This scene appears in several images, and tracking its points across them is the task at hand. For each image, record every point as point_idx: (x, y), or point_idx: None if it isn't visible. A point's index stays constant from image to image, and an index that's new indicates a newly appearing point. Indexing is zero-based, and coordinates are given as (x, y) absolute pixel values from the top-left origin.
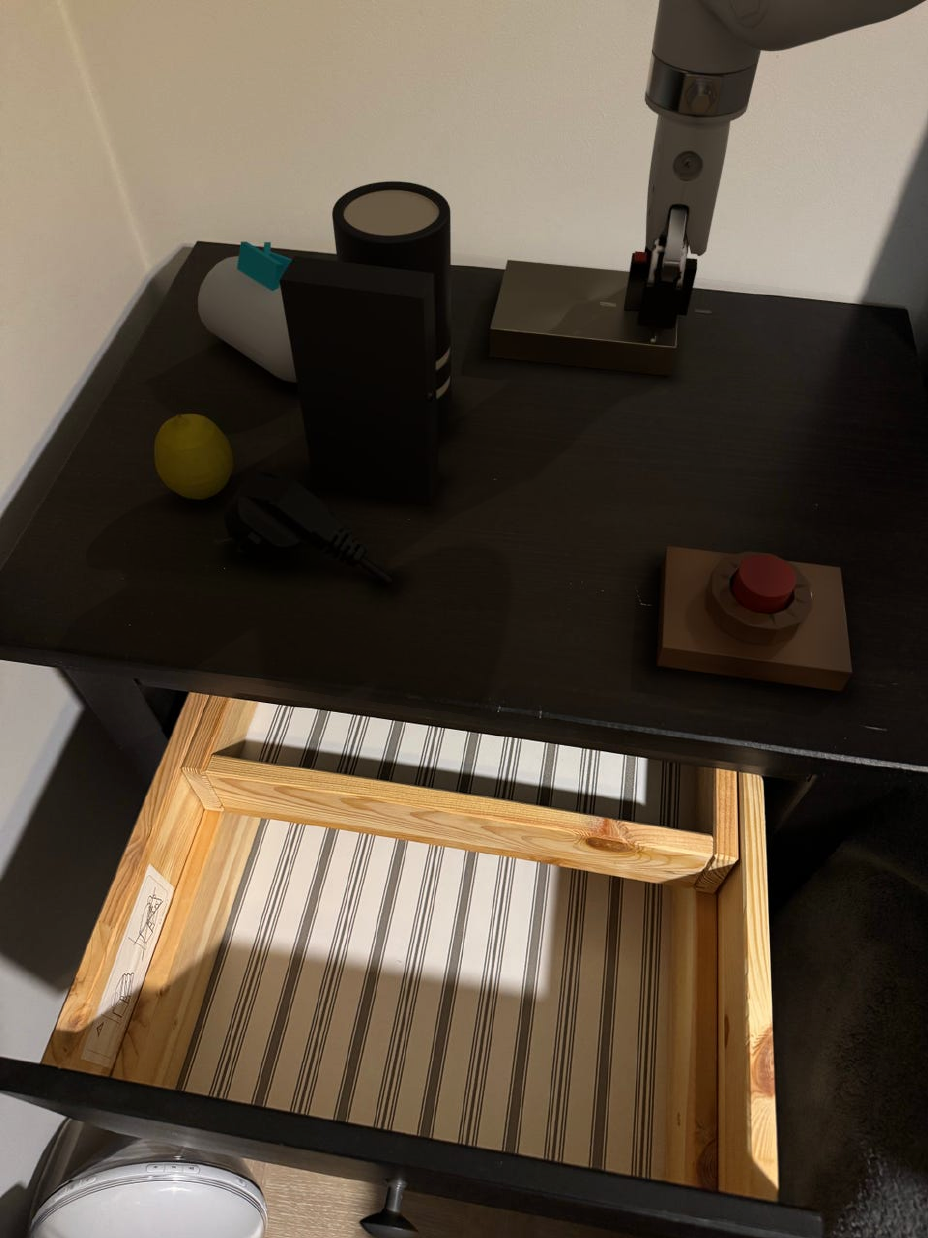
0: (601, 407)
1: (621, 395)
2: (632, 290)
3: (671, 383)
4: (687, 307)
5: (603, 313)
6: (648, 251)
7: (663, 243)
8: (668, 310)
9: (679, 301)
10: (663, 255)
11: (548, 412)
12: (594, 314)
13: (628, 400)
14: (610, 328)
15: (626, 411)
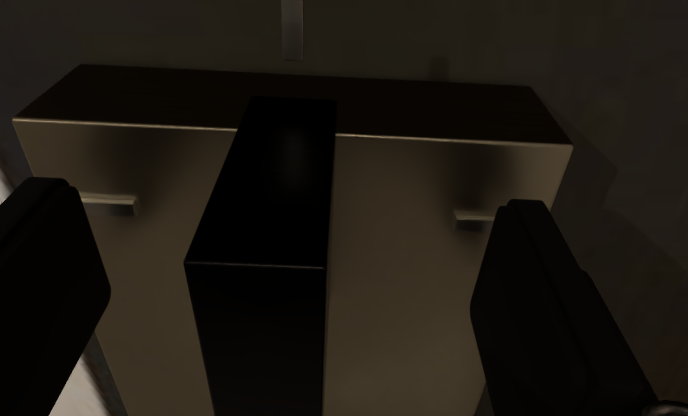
0: (644, 261)
1: (603, 219)
2: (326, 355)
3: (568, 79)
4: (335, 121)
5: (357, 345)
6: (72, 361)
7: (24, 362)
8: (610, 317)
9: (593, 302)
10: (54, 298)
11: (633, 350)
12: (365, 363)
13: (630, 203)
14: (440, 331)
15: (679, 207)
